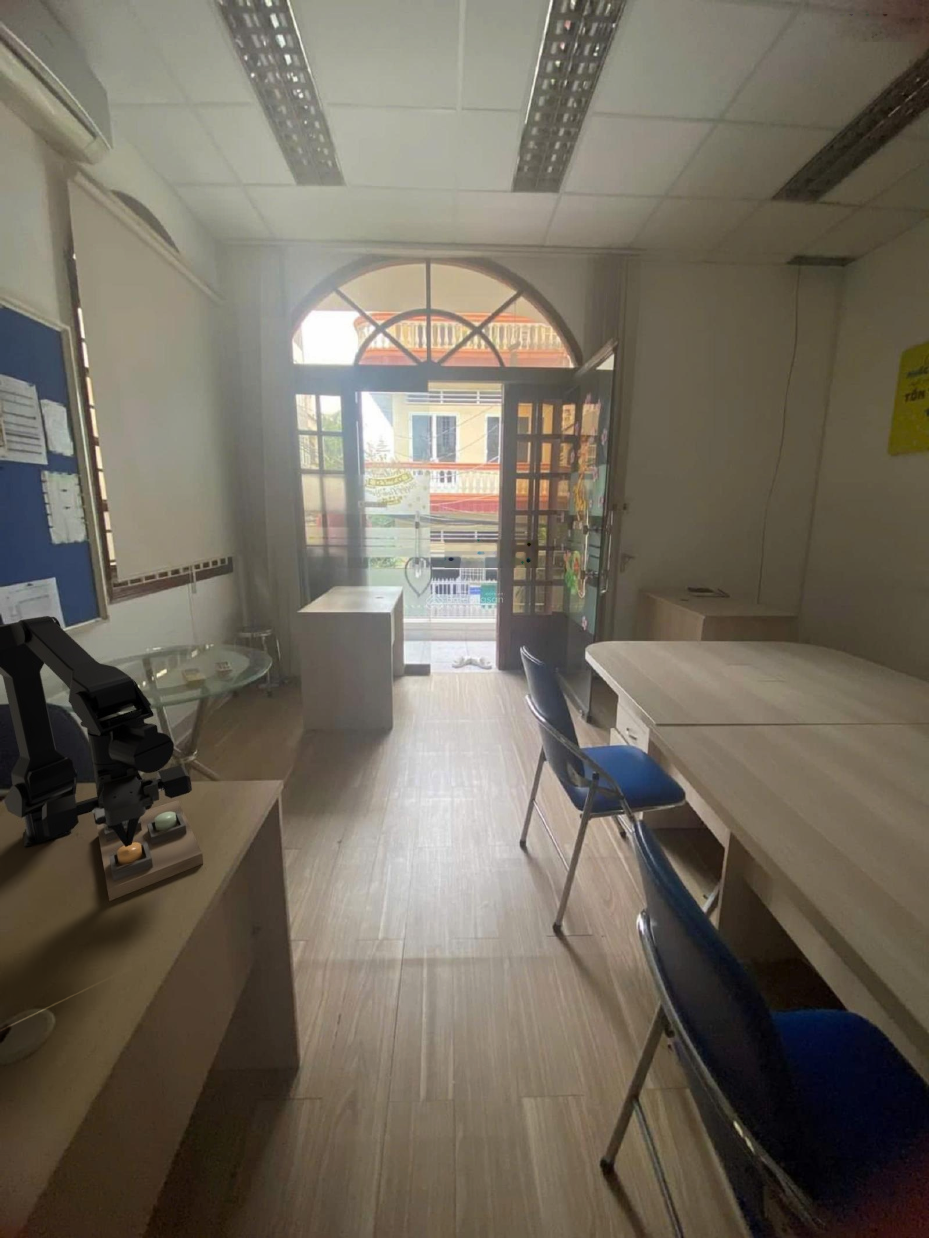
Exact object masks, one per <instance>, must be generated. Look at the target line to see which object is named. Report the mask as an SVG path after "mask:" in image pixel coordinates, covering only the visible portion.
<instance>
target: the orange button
mask: <svg viewBox="0 0 929 1238" xmlns="http://www.w3.org/2000/svg"><path fill="white" fill-rule="evenodd" d="M117 856H118V862H119V863H120V864H123V865H125V864H130V863H133V862H135V861H137V860H138V859H140V858H141V856H142V849H141V844H140V843H137V842H134V843H132V845H130V846H129V845H128V846H127V847H125V845H124V846H122V847H121V848H120V849H119V850H118V851H117Z"/></svg>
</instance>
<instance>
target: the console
mask: <svg viewBox="0 0 929 1238" xmlns="http://www.w3.org/2000/svg"><path fill="white" fill-rule="evenodd" d="M165 812H174V813H175V814H176V821H177V823H176V825H175V826H174V827H172V828H170V829H168V830H164V831H159V830H156V826H155V818H156V817H157V816H158V815H160V814H162V813H165ZM96 827H97V828H96V829H97V836H98V840H99V846H100V852H101V853H100V854H101V859H102V863H103V870H104V877H105V882H106V890H107V894H108V896H107V897H108V901H109V902H110V901H111V902H112V901H113V900H115V899H118V898H121V897H123V896H126V895H128V894H130V893H133V892H135V891H138V890H141V889H143V888H147V886H150V885H153V884H156V883H159V882H161V881H162V880H166V879H168V878H171V877H173V876H176V875H178V874H181V873H182V872H185V871H189V870H190V869H193V868H195V867H198V866H201V865H202V864H204V858H203V857H204V856H203V852H202V850H201V847H200V845H199V843H198V841H197V839H196V836H195V834H194V832H193V830H192V828H191V825H190V823H189V820H188V819H187V817H186V814H185V813H184V810H183V808H182V805H181V803H180V802H179V800H178V799H177V800H174V801H170V802H168V803H165V804H161V805H158V806H155V807H151V808H150V809H148V810H146V812H145V814H144V815H143V816H141V817H140V819H139V821H138V824H137V827H136V831H135V834H134V838H133V842H132V843H134V842H137V843H140V844H141V849H142V856H141V858H140V859H138V860H137V861H135V862H133V863H130V864H125V865H123V864H120V863H119V862H118V856H117V851H118V850H119V849H120V848H121V847H122V846H124V844H123V843H122V841H121V840H120V838H119V837H118V836H117V834H116V833H115V831H114V830H113V829H112V828H111V827H110V826H108V825H106V824H101V825H96ZM124 828H125V831H126V825H125V826H124Z"/></svg>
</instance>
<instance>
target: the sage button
mask: <svg viewBox="0 0 929 1238" xmlns="http://www.w3.org/2000/svg"><path fill="white" fill-rule="evenodd" d="M176 823H177V821H176V814H175V813H174V812H165V813H162V814H160V815H158V816H157V817H156V818H155V826H156V830H159V831H164V830H168V829H170V828H172V827H174V826H175V825H176Z"/></svg>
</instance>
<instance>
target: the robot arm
mask: <svg viewBox="0 0 929 1238" xmlns="http://www.w3.org/2000/svg"><path fill="white" fill-rule="evenodd" d="M45 665H46V666H47V668H49V669H50V671H52V672H53V673H54V674H55V675H56V676H57V677H58V679H60V680H61V681H62V682H63V683H64V684H65V685H66V687H67V688H68V690H69V691H68V692H69V693H68V703H69V704H70V705H71V709H72V711H73V712H74V713H75V715H76V716H77V718H79V720H80V721H81V722H80V726H81V727H83V728H86V732H87V740H88V744H89V752H90V757H91V759H90V760H91V764H92V770H93V771H92V772H93V778H94V782H95V789H96V796H95V797H90V798H88V799H84V800H81V801H77V799H76V798H77V797H76V794H77V787H78V786H77V785H78V784H77V783H78V782H77V781H78V773H77V770H76V769H75V767H74V765H73V760H72V759H71V758H69V757H66V756H65V755H64V754H63V753H61V752H60V751H59V750H57V748H56V744H55V739H54V734H53V728H52V723H51V719H50V714H49V710H48V703H47V698H46V694H45V689H44V684H43V680H42V675H41V671H42V669H43V667H44V666H45ZM0 675H1V677H2V679H3V683H4V687H5V693H6V697H7V701H8V706H9V712H10V715H11V720H12V725H13V730H14V733H15V734H14V735H15V738H16V742H17V748H18V751H19V757H18V759H17V761H16V763H15V765H14V767H13V768H12V770H11V772H10V773H11V774H10V775H11V784H12V786H11V787H10V788H9V791H8V792H7V794H6V796H5V798H4V799H3V800H4V804H5V807H6V810H7V811H8V812H9V813H10V814H12V815H14V816H16V817H18V818H20V819H22V818H23V820H24V825H25V829H24V837H23V838H24V839H23V841H24V842H23V846H24V848H25V849H26V848H30V847H33V846H36V845H40V844H42V843H46V842H48V841H52V840H55V839H58V838H62V837H64V836H67V835H70V834H72V830H74V829H75V827H76V826H77V825H78V824H79V823H80V822H79V816H81V815H86V814H88V813H91V812H92V815H93V818H94V825H96V826H98V825H101V824H106V825H108V826H110V827H111V828H112V829H113V830H114V831H115V833H116V834H117V836H118V837H119V838H120V840H121V841H122V843H123V844H124V845H125V847H127V846H128V845H129V846H130V845H132V842H133V838H134V834H135V831H136V827H137V824H138V821H139V819H140V817H141V816H143V815H144V814H145V812H146V810H148V809H151V808H153V805H154V803H155V802H156V801H159V800H160V792H162V791H163V793H164V796H165V797H167V798H170V799H173V798H176V797H180V796H182V795H183V796H184V795H187V794H190V793H191V792H192V791H193V787H192V780H191V776H190V775H189V773H188V771H187V769H186V767H184V766H183V765H181V764H179V765H175V766H172V767H168V768H165V769H162V768H164V767H165V766H167V764H168V762H169V761H170V760H171V758H172V756H173V754H174V748H175V744H174V741H173V739H171V736H169V735H168V734H166V733H164V732H161V731H159V729H158V725H157V724H156V723H155V724H154V723H148V722H145V720H147V719H149V718H152V717H154V715H155V713H154V712H153V710H152V708H151V706H152V704H151V702H150V701H149V699H148V698H147V697H146V695H145V694H144V693H143V691H142V690H141V688H140V687H139V685H138V684H137V682H136V681H135V679H133V678H132V677H131V676H130V675H129V674H127V673H126V672H124V671H123V670H121V669H119V667H116V666H114V665H108V664H104V663H100V662H99V661H97V660H96V659H95V658H94V657H93V656H92V655H90V653H88V651H86V650H85V649H84V648H83V647H82V646H81V645H80V644H79V643H78V642H77V641H76V640H75V639H74V638H73V637H71V636H70V634H68V633H67V632H66V631H65V630H64V629H63V628H62V627H61V624H60V621H59V620H58V619H57V617H55V616H49V615H45V616H43V615H42V616H38V617H29V618H23V619H20V620H18V621H16V622H11V623H4V624H0ZM133 707H134V708H135V709H132V708H133ZM130 709H132V710H130ZM127 710H130V711H127ZM124 711H127V712H125V713H121V712H124ZM119 713H121V714H119ZM116 714H118V715H116ZM155 772H157V778H156V777H152V778H149V779H146V778H143V777H142V775H141V773H145V774H153V773H155ZM124 821H126V831H125V828H124V825H123V822H124Z"/></svg>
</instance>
